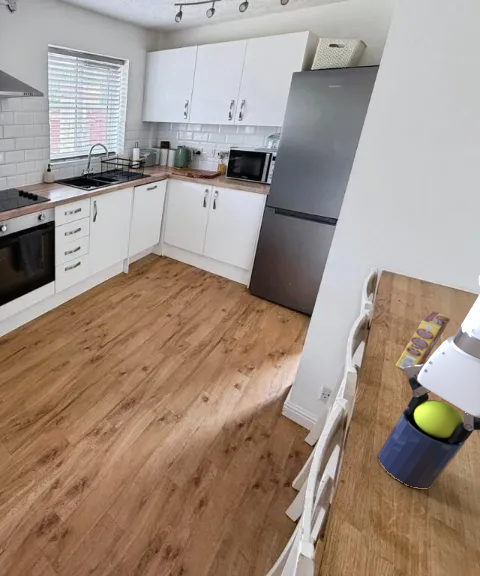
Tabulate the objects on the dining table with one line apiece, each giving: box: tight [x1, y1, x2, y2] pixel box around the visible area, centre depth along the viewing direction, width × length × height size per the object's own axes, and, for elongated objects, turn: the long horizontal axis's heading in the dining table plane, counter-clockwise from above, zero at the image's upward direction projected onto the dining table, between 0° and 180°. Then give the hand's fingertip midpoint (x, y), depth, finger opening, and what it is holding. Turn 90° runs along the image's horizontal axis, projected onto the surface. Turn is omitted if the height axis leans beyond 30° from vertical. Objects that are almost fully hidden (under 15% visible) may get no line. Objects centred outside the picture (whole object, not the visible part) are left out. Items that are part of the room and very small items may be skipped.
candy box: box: [395, 311, 452, 371], centre depth 98 cm, size 9×4×15 cm, turn 125°
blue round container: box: [377, 407, 466, 488], centre depth 69 cm, size 9×9×12 cm
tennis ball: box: [414, 399, 464, 438], centre depth 66 cm, size 6×6×6 cm
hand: (433, 425), depth 66 cm, fingers closed on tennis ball, 5 cm apart
